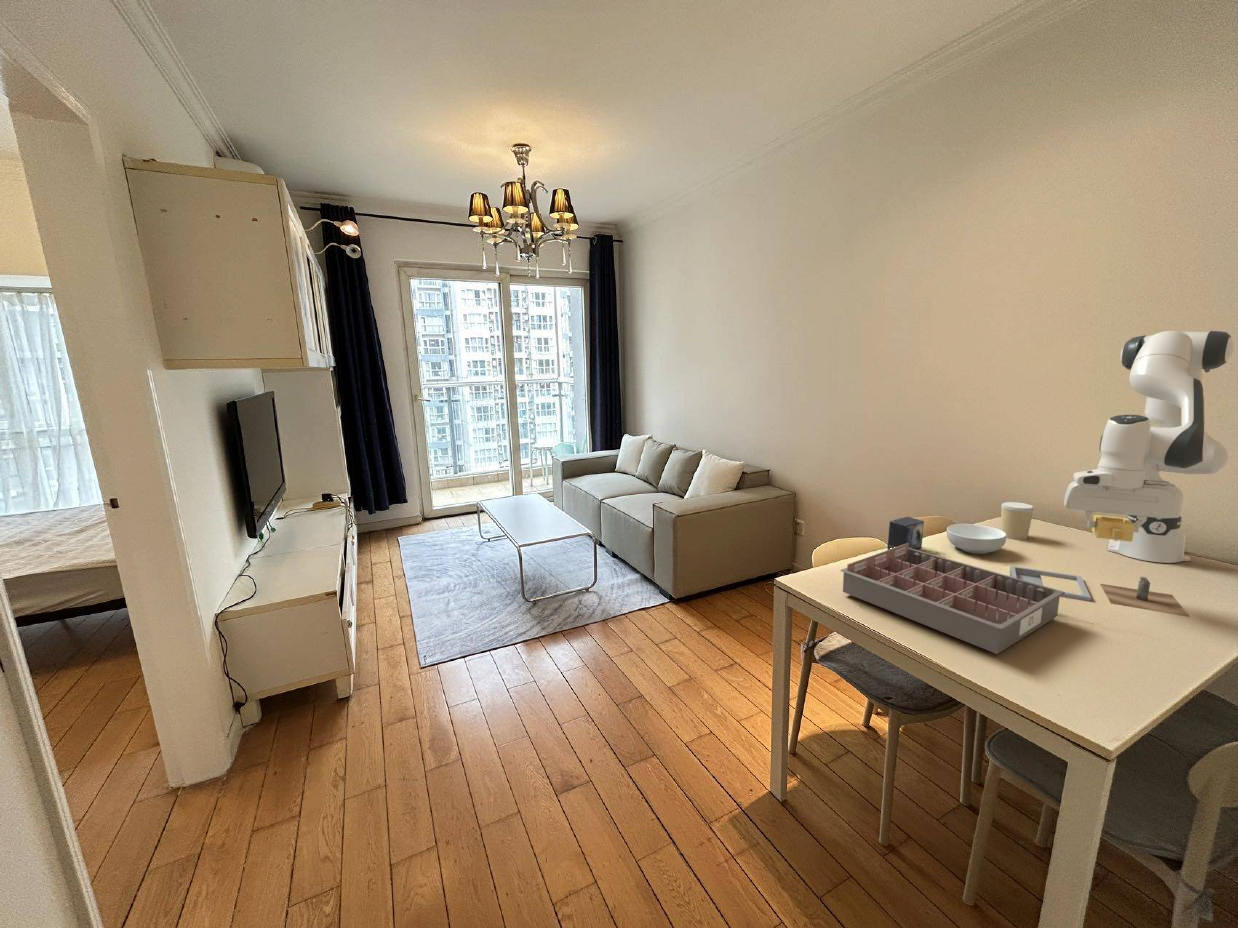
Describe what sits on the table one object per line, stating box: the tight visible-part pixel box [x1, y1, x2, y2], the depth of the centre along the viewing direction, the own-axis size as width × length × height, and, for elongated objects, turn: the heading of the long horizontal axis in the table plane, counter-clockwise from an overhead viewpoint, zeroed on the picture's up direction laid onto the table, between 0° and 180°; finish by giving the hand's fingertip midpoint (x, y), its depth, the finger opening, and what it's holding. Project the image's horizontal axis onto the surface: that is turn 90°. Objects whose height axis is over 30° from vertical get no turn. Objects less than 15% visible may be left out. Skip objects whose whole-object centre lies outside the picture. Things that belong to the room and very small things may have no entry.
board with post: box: [1099, 576, 1191, 618], centre depth 130 cm, size 14×14×7 cm
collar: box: [1091, 514, 1135, 542], centre depth 130 cm, size 10×7×4 cm
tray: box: [1009, 565, 1092, 602], centre depth 142 cm, size 16×16×2 cm
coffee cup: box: [1000, 501, 1035, 541], centre depth 183 cm, size 9×9×12 cm
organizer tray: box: [839, 543, 1066, 655], centre depth 133 cm, size 32×40×10 cm
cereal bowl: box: [946, 523, 1007, 555], centre depth 172 cm, size 17×17×7 cm
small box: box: [886, 516, 925, 551], centre depth 175 cm, size 11×6×10 cm, turn 117°
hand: (1112, 529), depth 132 cm, fingers closed on collar, 7 cm apart
